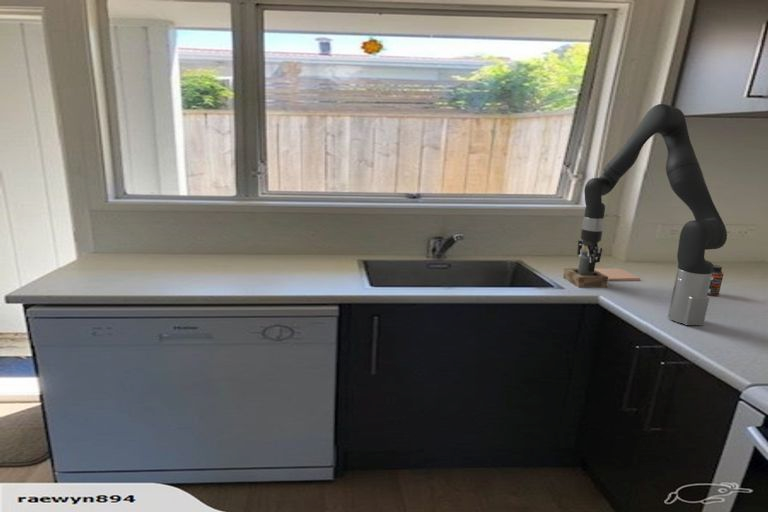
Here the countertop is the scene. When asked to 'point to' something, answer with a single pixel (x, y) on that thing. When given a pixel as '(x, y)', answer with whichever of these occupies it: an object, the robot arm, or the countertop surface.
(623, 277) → the tile
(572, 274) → the pocket holder
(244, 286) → the countertop surface
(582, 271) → the bottle
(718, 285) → the supplement bottle
